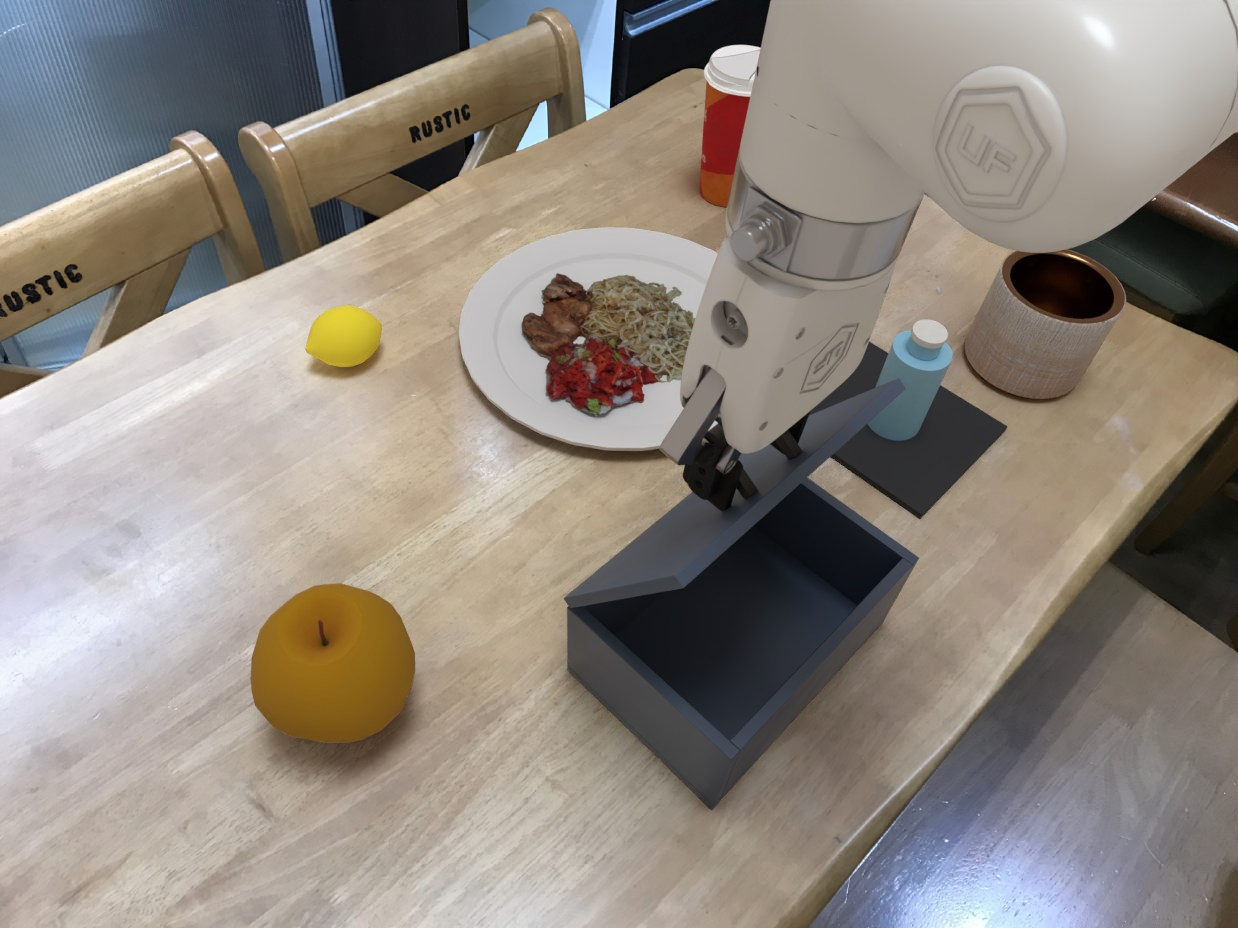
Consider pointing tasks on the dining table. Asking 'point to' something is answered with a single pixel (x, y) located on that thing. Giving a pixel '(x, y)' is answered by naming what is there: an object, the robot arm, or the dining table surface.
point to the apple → (332, 665)
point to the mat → (914, 442)
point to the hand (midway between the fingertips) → (739, 463)
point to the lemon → (344, 336)
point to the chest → (741, 638)
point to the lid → (705, 531)
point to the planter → (1043, 322)
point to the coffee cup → (725, 117)
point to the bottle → (913, 378)
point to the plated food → (588, 334)
